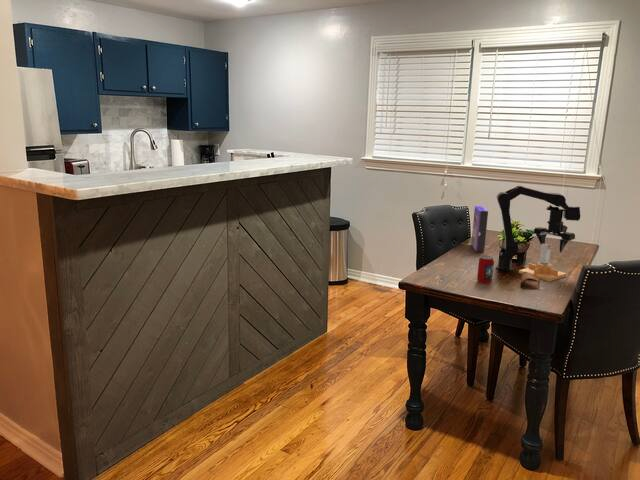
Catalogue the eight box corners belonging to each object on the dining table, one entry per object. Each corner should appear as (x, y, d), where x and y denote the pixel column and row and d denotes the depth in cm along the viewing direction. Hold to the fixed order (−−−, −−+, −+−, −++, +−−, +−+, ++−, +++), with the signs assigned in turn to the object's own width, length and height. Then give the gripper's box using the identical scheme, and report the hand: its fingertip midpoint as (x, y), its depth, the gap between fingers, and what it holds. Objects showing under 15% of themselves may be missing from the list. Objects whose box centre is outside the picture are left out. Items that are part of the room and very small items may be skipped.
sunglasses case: (540, 290, 230) (534, 276, 230) (525, 295, 233) (518, 282, 233) (540, 279, 246) (534, 267, 246) (525, 285, 249) (519, 272, 249)
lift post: (545, 265, 251) (547, 245, 249) (538, 263, 254) (541, 244, 251) (548, 264, 253) (551, 244, 251) (542, 262, 256) (545, 243, 253)
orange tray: (549, 281, 244) (550, 269, 242) (518, 273, 256) (520, 261, 255) (566, 276, 253) (568, 264, 252) (536, 268, 266) (537, 257, 264)
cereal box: (471, 244, 315) (474, 205, 309) (479, 245, 314) (483, 206, 309) (475, 251, 298) (479, 210, 292) (484, 252, 297) (488, 211, 292)
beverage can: (489, 285, 235) (492, 260, 232) (475, 282, 238) (477, 257, 236) (493, 281, 241) (496, 256, 238) (479, 279, 244) (481, 254, 241)
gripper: (582, 221, 249) (578, 252, 253) (546, 215, 264) (543, 244, 267) (570, 223, 243) (566, 255, 246) (534, 217, 257) (531, 247, 261)
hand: (551, 250), depth 255 cm, fingers open, 9 cm apart
